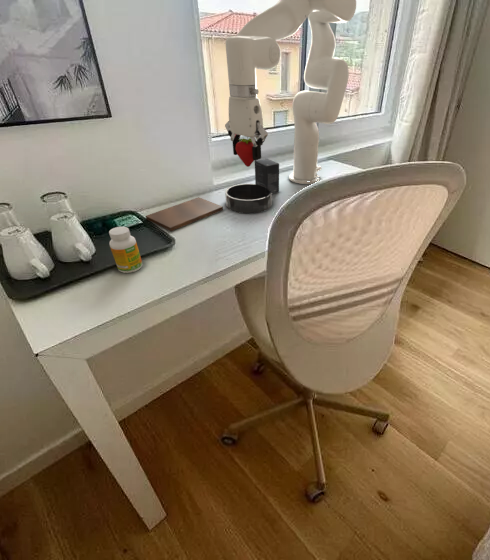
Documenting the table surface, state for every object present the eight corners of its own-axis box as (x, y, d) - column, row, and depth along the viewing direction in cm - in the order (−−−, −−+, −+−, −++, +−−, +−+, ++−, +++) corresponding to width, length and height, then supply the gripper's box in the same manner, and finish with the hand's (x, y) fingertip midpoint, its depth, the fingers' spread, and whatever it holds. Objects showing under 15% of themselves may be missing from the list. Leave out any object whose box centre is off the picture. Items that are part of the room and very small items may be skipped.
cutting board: (199, 200, 110) (198, 197, 109) (223, 210, 104) (223, 206, 104) (146, 219, 96) (145, 215, 96) (170, 231, 91) (170, 227, 90)
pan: (248, 192, 117) (247, 180, 115) (280, 203, 110) (280, 191, 108) (216, 205, 107) (215, 192, 105) (250, 218, 100) (249, 204, 98)
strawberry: (243, 162, 105) (241, 129, 99) (263, 166, 103) (261, 132, 96) (232, 166, 101) (229, 133, 95) (252, 171, 98) (250, 136, 92)
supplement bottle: (134, 275, 73) (122, 237, 68) (113, 271, 74) (99, 234, 68) (147, 262, 78) (137, 226, 72) (127, 259, 79) (115, 223, 73)
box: (279, 192, 119) (279, 163, 113) (266, 195, 116) (266, 165, 110) (267, 185, 124) (267, 157, 118) (255, 188, 121) (254, 160, 115)
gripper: (275, 94, 88) (276, 159, 98) (230, 87, 96) (236, 149, 106) (257, 96, 83) (260, 165, 93) (211, 89, 91) (219, 153, 101)
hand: (247, 156), depth 100 cm, fingers closed on strawberry, 7 cm apart
